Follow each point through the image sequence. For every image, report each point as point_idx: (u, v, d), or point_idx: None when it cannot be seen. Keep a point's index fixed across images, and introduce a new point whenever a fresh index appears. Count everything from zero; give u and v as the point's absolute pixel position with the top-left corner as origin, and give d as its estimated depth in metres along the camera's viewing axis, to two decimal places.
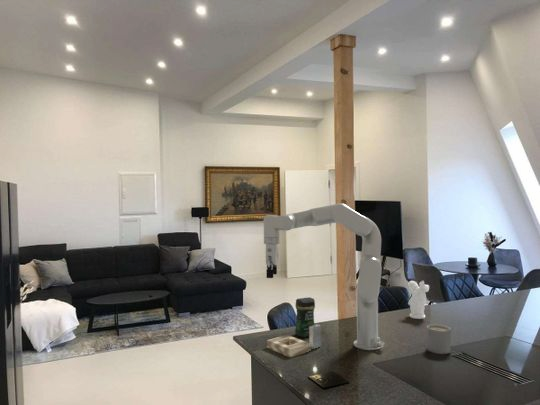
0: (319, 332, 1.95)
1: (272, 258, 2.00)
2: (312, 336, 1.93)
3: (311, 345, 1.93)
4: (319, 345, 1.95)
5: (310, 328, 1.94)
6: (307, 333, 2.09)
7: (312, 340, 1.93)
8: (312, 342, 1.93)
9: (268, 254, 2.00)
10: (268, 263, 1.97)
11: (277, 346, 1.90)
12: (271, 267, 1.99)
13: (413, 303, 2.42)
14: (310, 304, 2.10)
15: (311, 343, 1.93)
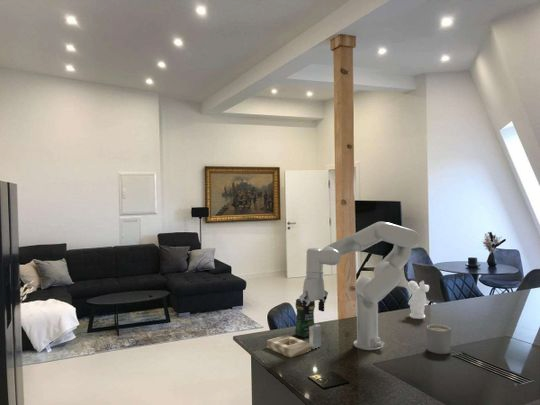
0: (319, 332, 1.95)
1: None
2: (312, 336, 1.93)
3: (311, 345, 1.93)
4: (319, 345, 1.95)
5: (310, 328, 1.94)
6: (307, 333, 2.09)
7: (312, 340, 1.93)
8: (312, 342, 1.93)
9: None
10: None
11: (277, 346, 1.90)
12: None
13: (413, 303, 2.42)
14: (310, 304, 2.10)
15: (311, 343, 1.93)
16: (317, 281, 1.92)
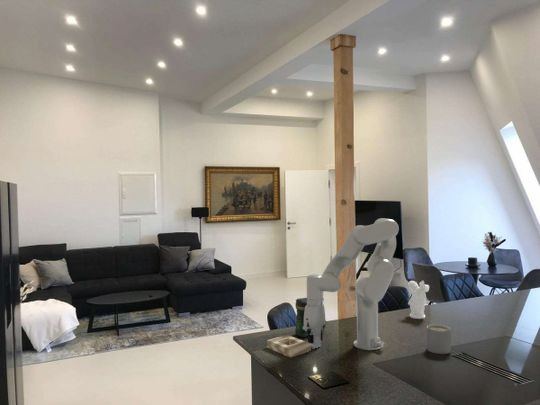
0: (319, 332, 1.95)
1: None
2: None
3: (311, 345, 1.93)
4: (319, 345, 1.95)
5: None
6: None
7: None
8: None
9: None
10: None
11: (277, 346, 1.90)
12: None
13: (413, 303, 2.42)
14: None
15: None
16: (317, 308, 1.92)
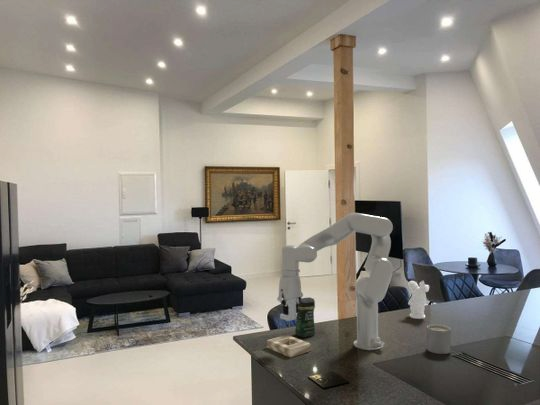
0: (294, 304, 1.92)
1: None
2: None
3: (286, 317, 1.90)
4: (294, 317, 1.92)
5: None
6: (307, 333, 2.09)
7: None
8: None
9: None
10: None
11: (277, 346, 1.90)
12: None
13: (413, 303, 2.42)
14: (310, 304, 2.10)
15: None
16: (293, 279, 1.89)
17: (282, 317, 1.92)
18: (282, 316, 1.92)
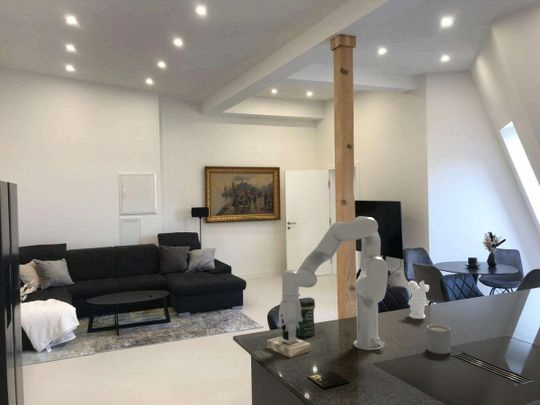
0: (294, 328, 1.92)
1: None
2: None
3: (286, 341, 1.90)
4: (294, 342, 1.92)
5: None
6: (307, 333, 2.09)
7: None
8: None
9: None
10: None
11: (277, 346, 1.90)
12: None
13: (413, 303, 2.42)
14: (310, 304, 2.10)
15: None
16: (293, 304, 1.89)
17: (282, 341, 1.92)
18: (282, 341, 1.92)
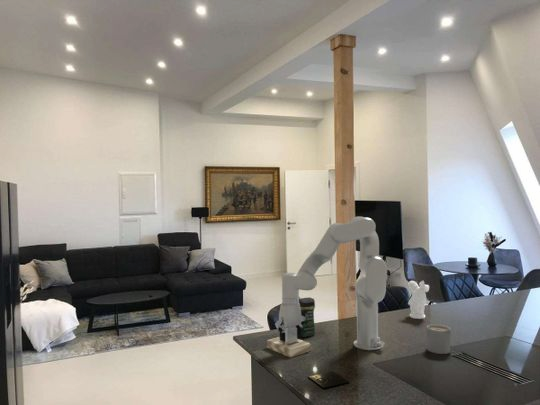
0: (295, 335, 1.92)
1: None
2: (287, 339, 1.90)
3: None
4: None
5: (286, 330, 1.90)
6: (307, 333, 2.09)
7: (287, 343, 1.90)
8: None
9: None
10: None
11: (277, 346, 1.90)
12: None
13: (413, 303, 2.42)
14: (310, 304, 2.10)
15: None
16: (293, 307, 1.89)
17: None
18: None
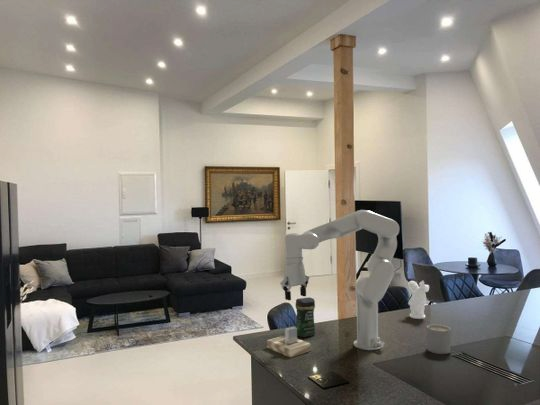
0: (295, 335, 1.92)
1: None
2: (287, 339, 1.90)
3: None
4: None
5: (286, 331, 1.90)
6: (307, 333, 2.09)
7: (287, 343, 1.90)
8: None
9: None
10: None
11: (277, 346, 1.90)
12: (302, 284, 1.99)
13: (413, 303, 2.42)
14: (310, 304, 2.10)
15: None
16: (297, 266, 1.92)
17: None
18: None
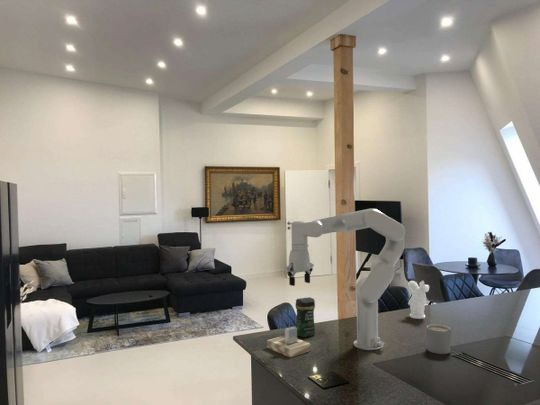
0: (295, 335, 1.92)
1: None
2: (287, 339, 1.90)
3: None
4: None
5: (286, 330, 1.90)
6: (307, 333, 2.09)
7: (287, 343, 1.90)
8: None
9: None
10: None
11: (277, 346, 1.90)
12: (307, 271, 2.04)
13: (413, 303, 2.42)
14: (310, 304, 2.10)
15: None
16: (302, 253, 1.97)
17: None
18: None
